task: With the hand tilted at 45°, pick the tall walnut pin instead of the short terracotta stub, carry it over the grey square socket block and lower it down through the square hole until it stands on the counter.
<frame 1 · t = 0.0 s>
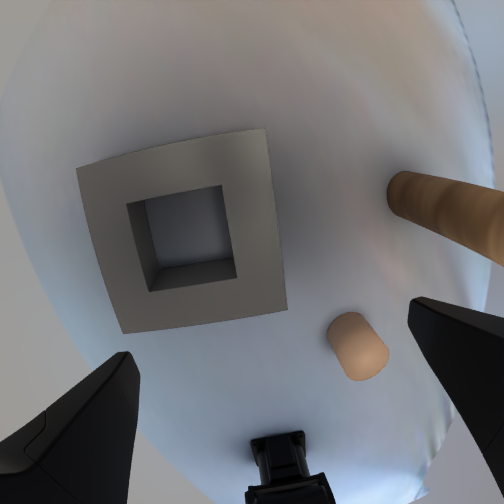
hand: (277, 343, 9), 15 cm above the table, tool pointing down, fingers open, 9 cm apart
grey square socket block: (188, 226, 22), on the table
tall pin: (405, 194, 23), on the table
short pin: (346, 330, 27), on the table
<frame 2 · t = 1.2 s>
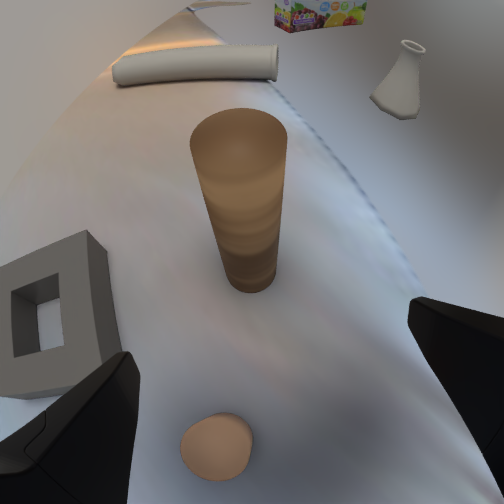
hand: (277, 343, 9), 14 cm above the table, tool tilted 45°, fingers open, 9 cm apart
snack box: (322, 24, 47), on the table
grey square socket block: (60, 327, 22), on the table
tube: (191, 77, 38), on the table
flask: (394, 105, 34), on the table
tall pin: (250, 269, 24), on the table
short pin: (225, 438, 19), on the table
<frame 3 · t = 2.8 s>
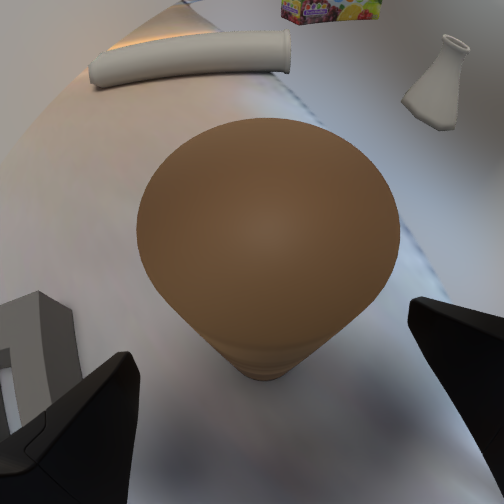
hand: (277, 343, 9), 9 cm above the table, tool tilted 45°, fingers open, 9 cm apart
snack box: (334, 18, 40), on the table
grey square socket block: (26, 403, 15), on the table
tube: (184, 73, 31), on the table
flask: (428, 113, 27), on the table
tall pin: (263, 347, 17), on the table
when the fingers open (8 cm above the table, at t = 9.1 s): tall pin stays where it is, resting in grey square socket block.
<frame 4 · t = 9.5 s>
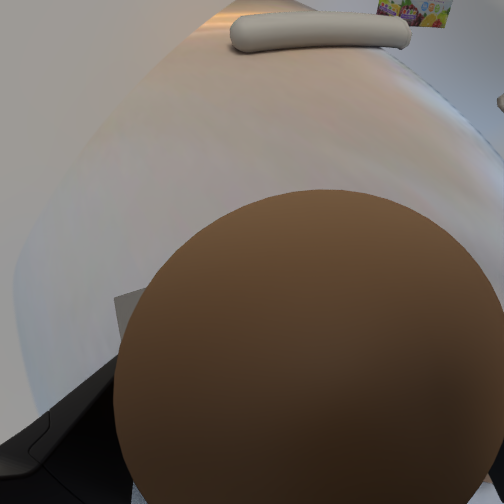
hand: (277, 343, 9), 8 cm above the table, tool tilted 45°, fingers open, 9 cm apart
snack box: (414, 23, 40), on the table
grey square socket block: (275, 388, 15), on the table
tube: (324, 44, 32), on the table
tall pin: (275, 388, 15), resting in grey square socket block
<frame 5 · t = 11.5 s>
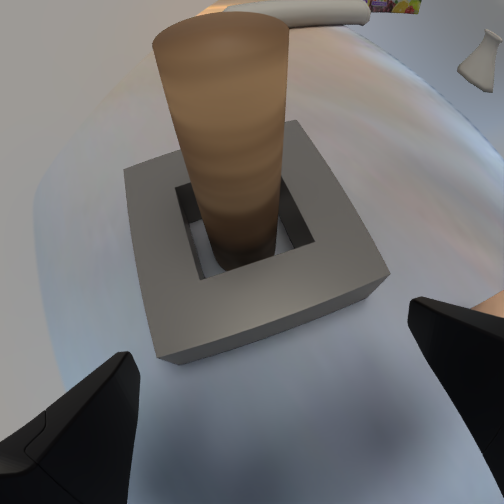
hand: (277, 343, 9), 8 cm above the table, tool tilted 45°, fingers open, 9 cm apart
snack box: (387, 10, 45), on the table
grey square socket block: (243, 246, 19), on the table
tube: (298, 26, 37), on the table
flask: (474, 81, 32), on the table
tall pin: (244, 246, 20), resting in grey square socket block
short pin: (467, 340, 16), on the table
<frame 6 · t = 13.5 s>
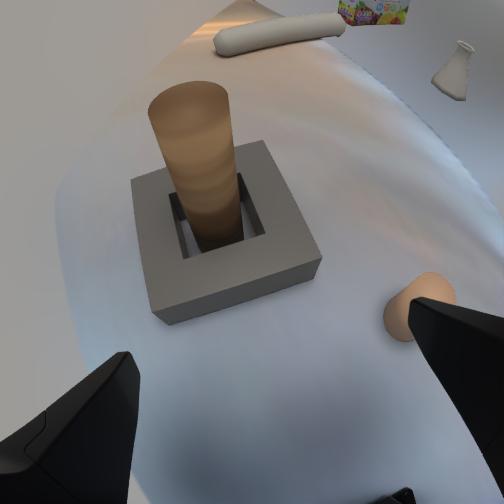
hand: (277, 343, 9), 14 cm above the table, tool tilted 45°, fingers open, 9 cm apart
snack box: (373, 22, 51), on the table
grey square socket block: (220, 237, 26), on the table
tube: (282, 43, 43), on the table
flask: (448, 90, 38), on the table
tall pin: (220, 238, 26), resting in grey square socket block
short pin: (404, 318, 22), on the table
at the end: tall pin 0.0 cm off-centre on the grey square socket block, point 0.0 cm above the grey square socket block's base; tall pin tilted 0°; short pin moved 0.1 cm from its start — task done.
